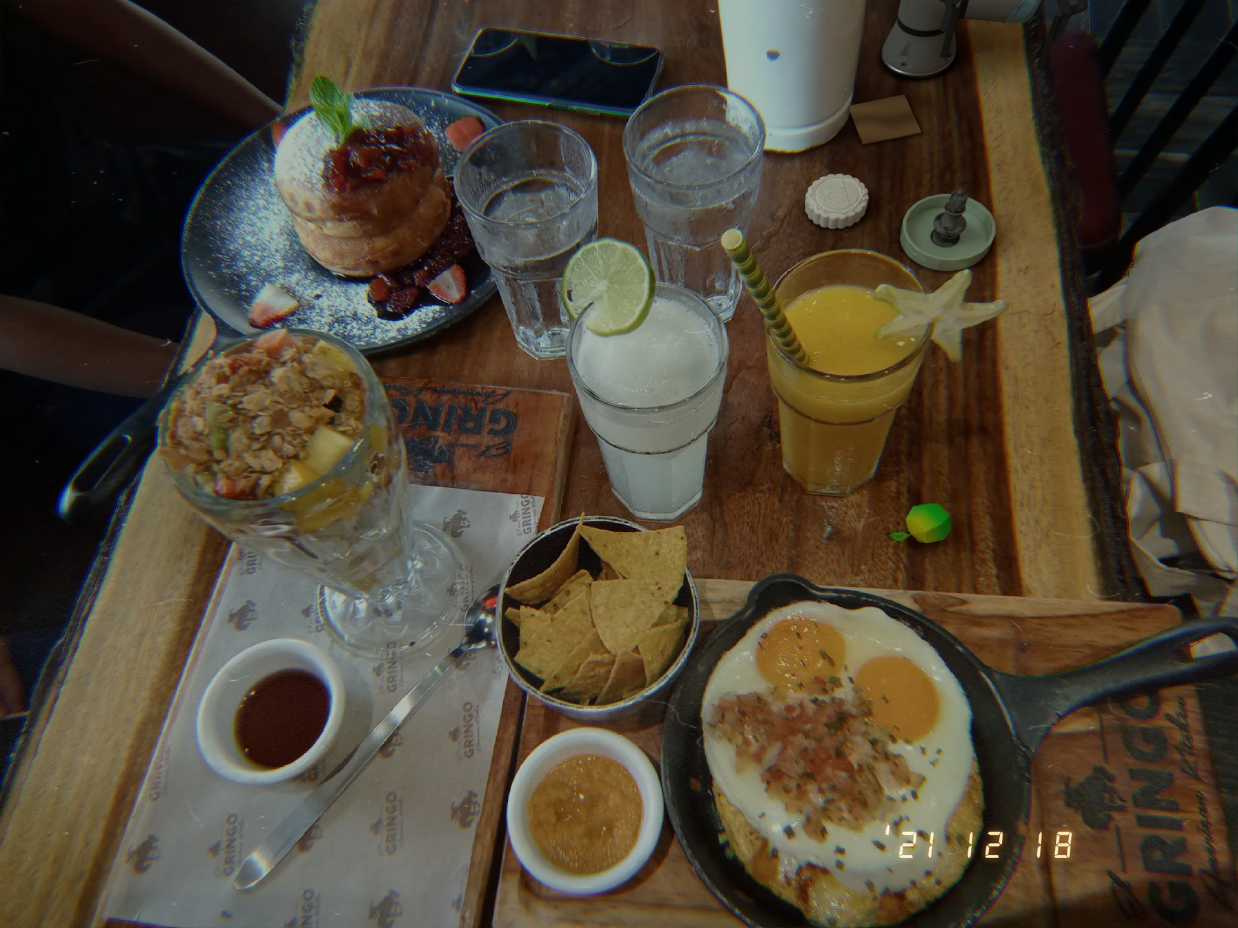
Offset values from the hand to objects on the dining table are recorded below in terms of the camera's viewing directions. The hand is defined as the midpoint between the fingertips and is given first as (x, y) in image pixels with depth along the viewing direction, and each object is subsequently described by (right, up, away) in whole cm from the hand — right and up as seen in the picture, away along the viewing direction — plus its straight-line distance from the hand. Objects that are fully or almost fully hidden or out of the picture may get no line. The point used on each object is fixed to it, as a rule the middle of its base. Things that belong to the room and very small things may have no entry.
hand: (990, 63), depth 109 cm
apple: (-9, -71, +6) cm, 72 cm away
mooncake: (-12, -9, +37) cm, 40 cm away
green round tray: (+6, -17, +30) cm, 35 cm away
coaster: (0, +13, +45) cm, 47 cm away
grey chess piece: (+6, -17, +30) cm, 35 cm away
